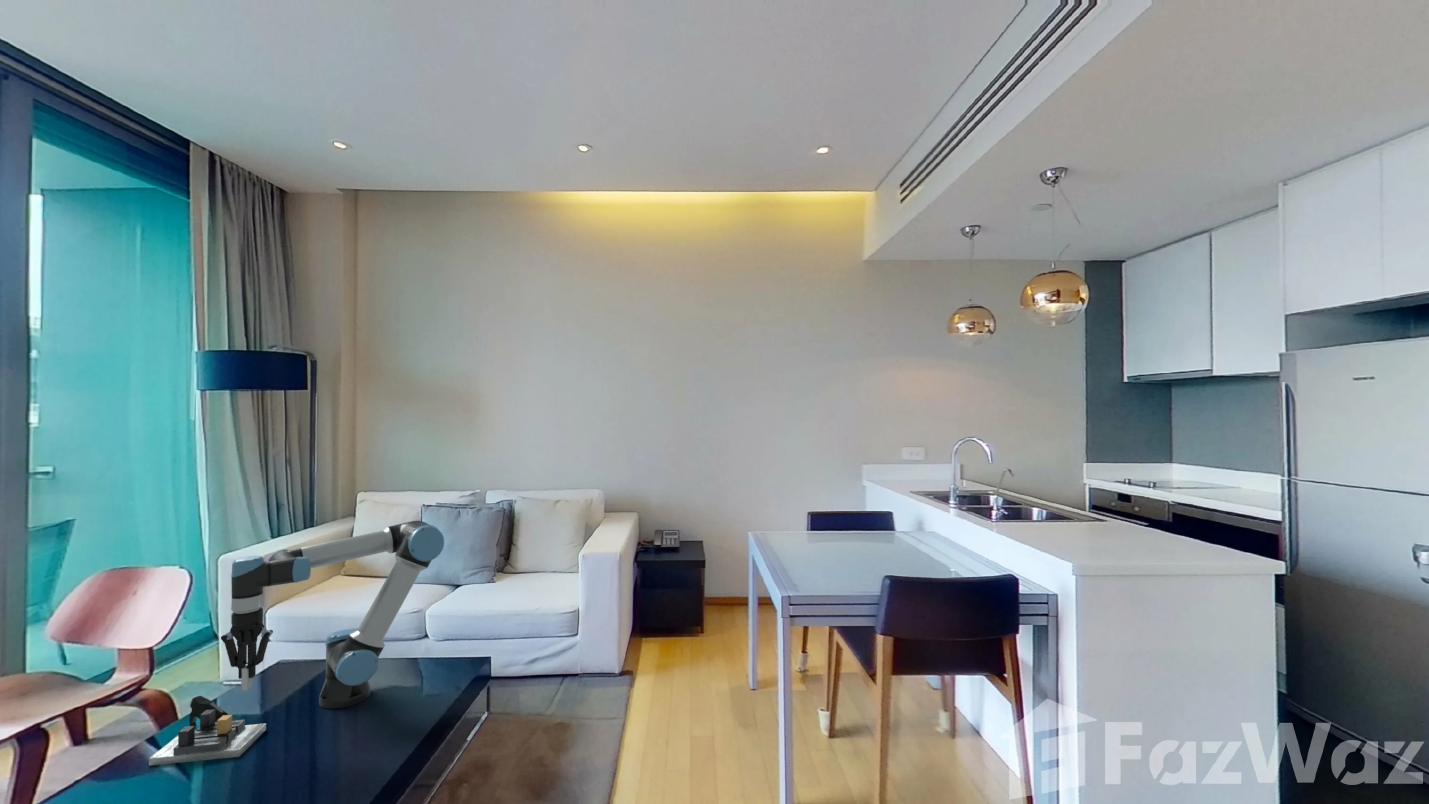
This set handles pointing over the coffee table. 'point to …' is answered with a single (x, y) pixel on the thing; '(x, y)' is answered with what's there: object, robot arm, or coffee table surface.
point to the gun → (203, 709)
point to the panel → (208, 741)
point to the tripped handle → (224, 724)
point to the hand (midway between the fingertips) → (247, 688)
